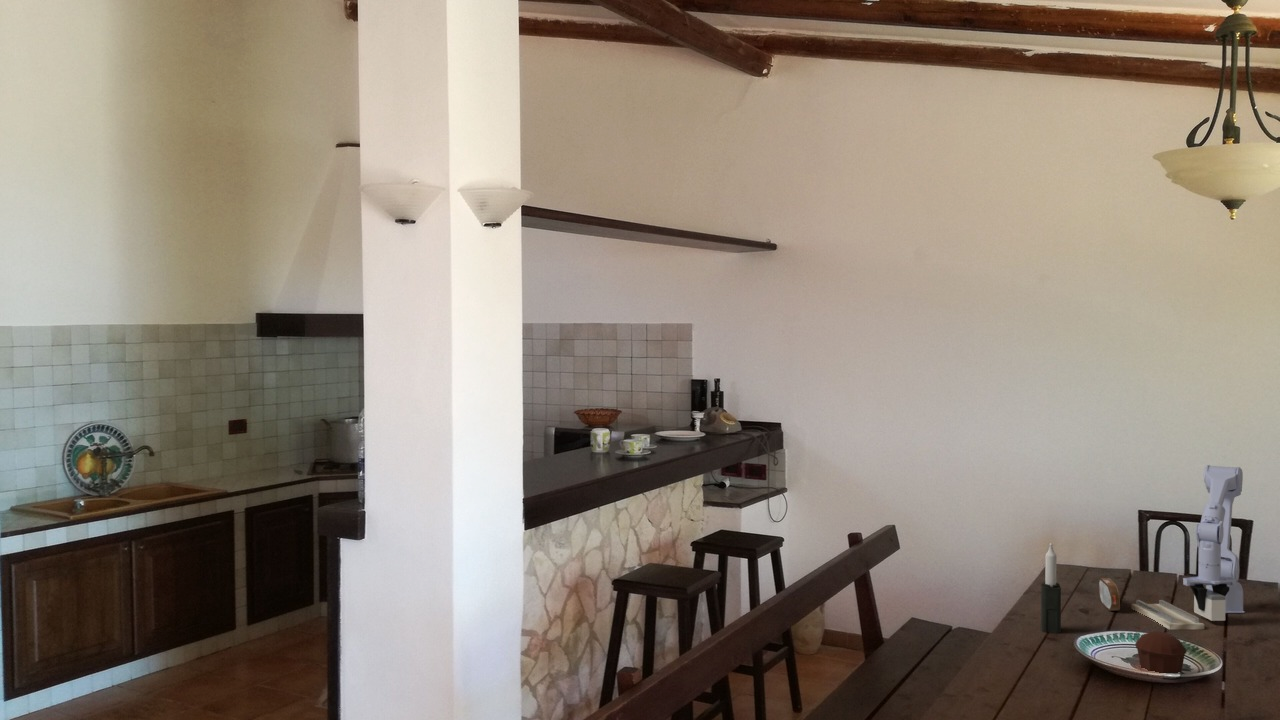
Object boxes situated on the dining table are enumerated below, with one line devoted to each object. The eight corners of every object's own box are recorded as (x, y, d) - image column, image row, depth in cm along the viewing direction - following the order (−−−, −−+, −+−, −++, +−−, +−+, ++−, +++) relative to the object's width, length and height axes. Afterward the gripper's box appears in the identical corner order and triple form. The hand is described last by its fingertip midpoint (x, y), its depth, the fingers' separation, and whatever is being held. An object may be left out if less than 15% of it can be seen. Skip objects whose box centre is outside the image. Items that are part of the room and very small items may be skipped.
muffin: (1126, 665, 254) (1127, 626, 253) (1171, 665, 253) (1171, 626, 253) (1149, 681, 242) (1149, 640, 242) (1195, 681, 241) (1195, 640, 241)
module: (1207, 612, 297) (1207, 588, 297) (1225, 620, 288) (1225, 596, 288) (1194, 612, 297) (1194, 588, 297) (1211, 620, 288) (1211, 596, 288)
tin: (1121, 614, 301) (1121, 586, 301) (1109, 613, 301) (1109, 586, 301) (1108, 601, 316) (1108, 575, 315) (1097, 601, 316) (1097, 574, 316)
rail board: (1163, 608, 307) (1163, 598, 306) (1204, 629, 285) (1204, 618, 284) (1131, 608, 307) (1131, 599, 306) (1169, 629, 285) (1169, 619, 284)
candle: (1059, 628, 286) (1059, 542, 286) (1061, 633, 281) (1061, 545, 281) (1040, 627, 288) (1040, 541, 287) (1041, 632, 283) (1041, 544, 282)
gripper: (1192, 566, 288) (1192, 613, 289) (1242, 566, 288) (1242, 613, 289) (1179, 561, 295) (1179, 606, 296) (1228, 561, 295) (1227, 606, 296)
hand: (1209, 609), depth 293 cm, fingers closed on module, 4 cm apart
